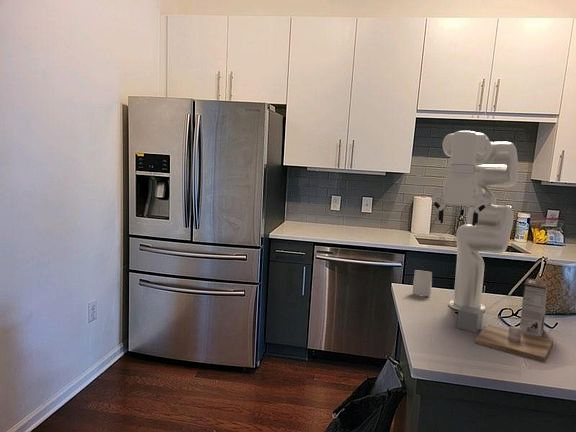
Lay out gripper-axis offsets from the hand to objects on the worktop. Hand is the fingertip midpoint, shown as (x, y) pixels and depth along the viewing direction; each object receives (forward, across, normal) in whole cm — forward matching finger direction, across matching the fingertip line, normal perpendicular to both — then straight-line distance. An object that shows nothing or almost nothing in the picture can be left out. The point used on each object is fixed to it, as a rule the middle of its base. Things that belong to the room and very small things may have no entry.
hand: (457, 224), depth 137 cm
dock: (+34, -18, +7) cm, 39 cm away
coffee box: (+34, -25, -8) cm, 43 cm away
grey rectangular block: (+34, +11, -33) cm, 48 cm away
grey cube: (+34, -6, -1) cm, 35 cm away
